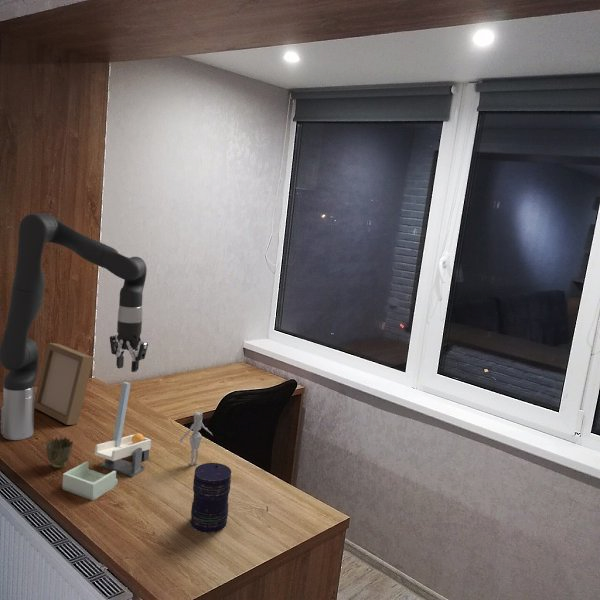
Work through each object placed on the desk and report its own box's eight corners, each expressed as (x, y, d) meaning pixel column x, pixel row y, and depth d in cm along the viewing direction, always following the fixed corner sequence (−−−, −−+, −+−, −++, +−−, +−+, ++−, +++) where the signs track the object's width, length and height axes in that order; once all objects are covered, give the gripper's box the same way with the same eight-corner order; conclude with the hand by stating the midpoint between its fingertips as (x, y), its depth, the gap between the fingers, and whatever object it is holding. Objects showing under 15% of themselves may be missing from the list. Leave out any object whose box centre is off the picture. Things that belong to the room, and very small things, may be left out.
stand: (100, 466, 175) (101, 443, 174) (127, 451, 187) (128, 430, 186) (132, 477, 171) (133, 454, 170) (157, 461, 183) (158, 439, 181)
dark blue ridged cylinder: (220, 536, 147) (225, 483, 144) (184, 529, 148) (188, 476, 145) (231, 516, 156) (236, 466, 154) (198, 509, 158) (201, 459, 155)
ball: (128, 443, 180) (131, 432, 180) (135, 442, 183) (138, 431, 183) (137, 446, 178) (140, 435, 179) (144, 445, 182) (147, 434, 182)
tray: (62, 489, 161) (62, 473, 160) (88, 474, 170) (88, 460, 169) (92, 500, 157) (93, 484, 156) (117, 485, 166) (118, 470, 165)
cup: (76, 468, 173) (77, 443, 171) (52, 475, 167) (52, 450, 166) (65, 459, 178) (66, 435, 176) (41, 465, 172) (42, 440, 171)
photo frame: (66, 427, 200) (69, 359, 196) (32, 409, 212) (34, 345, 208) (102, 416, 212) (105, 352, 208) (68, 400, 224) (70, 339, 220)
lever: (91, 454, 168) (103, 384, 168) (130, 442, 185) (140, 379, 185) (115, 462, 165) (127, 391, 165) (152, 449, 182) (163, 385, 181)
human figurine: (207, 458, 188) (211, 407, 185) (213, 463, 185) (217, 411, 182) (174, 466, 180) (178, 413, 177) (180, 471, 177) (184, 417, 174)
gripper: (104, 317, 181) (101, 367, 184) (140, 325, 175) (137, 377, 178) (119, 313, 187) (117, 362, 191) (155, 321, 182) (152, 371, 185)
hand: (127, 369), depth 184 cm, fingers open, 5 cm apart
